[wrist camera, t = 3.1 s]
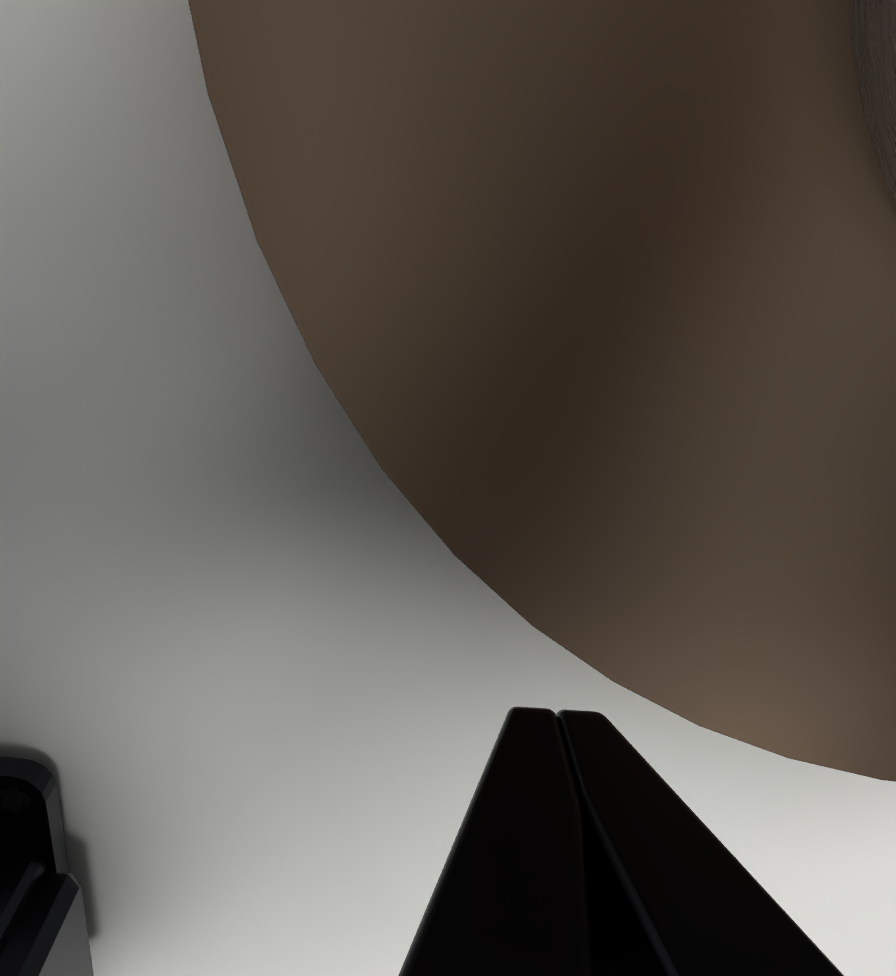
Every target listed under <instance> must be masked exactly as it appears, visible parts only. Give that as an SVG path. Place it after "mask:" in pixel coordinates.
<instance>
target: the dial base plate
mask: <svg viewBox="0 0 896 976" xmlns="http://www.w3.org/2000/svg"><path fill="white" fill-rule="evenodd" d="M188 1H189V6H190V11H191V15H192V20H193V25H194V30H195V34H196V39H197V44H198V49H199V53H200V58H201V63H202V68H203V72H204V77H205V82H206V87H207V91H208V95H209V98H210V101H211V104H212V107H213V110H214V113H215V116H216V119H217V122H218V125H219V128H220V131H221V134H222V137H223V140H224V143H225V146H226V149H227V152H228V155H229V158H230V161H231V164H232V167H233V170H234V173H235V176H236V179H237V182H238V185H239V188H240V191H241V194H242V197H243V200H244V203H245V206H246V209H247V212H248V215H249V218H250V221H251V224H252V227H253V230H254V233H255V236H256V239H257V242H258V244H259V246H260V248H261V250H262V253H263V255H264V257H265V259H266V261H267V263H268V265H269V267H270V269H271V272H272V274H273V276H274V278H275V280H276V282H277V284H278V286H279V288H280V291H281V293H282V295H283V297H284V299H285V301H286V303H287V305H288V307H289V310H290V312H291V314H292V316H293V318H294V320H295V322H296V324H297V326H298V329H299V331H300V333H301V335H302V337H303V339H304V341H305V343H306V345H307V348H308V350H309V352H310V354H311V356H312V358H313V360H314V362H315V364H316V366H317V368H318V369H319V371H320V372H321V374H322V376H323V377H324V379H325V380H326V382H327V383H328V385H329V387H330V388H331V390H332V391H333V393H334V394H335V396H336V397H337V399H338V401H339V402H340V404H341V405H342V407H343V408H344V410H345V412H346V413H347V415H348V416H349V418H350V419H351V421H352V423H353V424H354V426H355V427H356V429H357V430H358V432H359V433H360V435H361V437H362V438H363V440H364V441H365V443H366V444H367V446H368V448H369V449H370V451H371V452H372V454H373V455H374V457H375V459H376V460H377V462H378V463H379V465H380V466H381V468H382V469H383V471H384V472H385V473H386V474H387V475H388V476H389V478H390V479H391V480H392V481H393V482H394V484H395V485H396V486H397V487H398V488H399V490H400V491H401V492H402V493H403V494H404V496H405V497H406V498H407V499H408V500H409V501H410V503H411V504H412V505H413V506H414V507H415V509H416V510H417V511H418V512H419V513H420V515H421V516H422V517H423V518H424V519H425V520H426V522H427V523H428V524H429V525H430V526H431V528H432V529H433V530H434V531H435V532H436V534H437V535H438V536H439V537H440V538H441V539H442V541H443V542H444V543H445V544H446V545H447V547H448V548H449V549H450V550H451V551H452V553H453V554H454V555H455V556H456V557H457V558H458V559H460V560H461V561H462V562H463V563H464V564H465V565H466V566H467V567H468V568H469V569H471V570H472V571H473V572H474V573H475V574H476V575H477V576H478V577H479V578H480V579H482V580H483V581H484V582H485V583H486V584H487V585H488V586H489V587H490V588H491V589H493V590H494V591H495V592H496V593H497V594H498V595H499V596H500V597H501V598H502V599H504V600H505V601H506V602H507V603H508V604H509V605H510V606H511V607H512V608H513V609H515V610H516V611H517V612H518V613H519V614H520V615H521V616H522V617H523V618H524V619H526V620H527V621H528V622H529V623H530V624H531V625H532V626H534V627H535V628H536V629H538V630H539V631H541V632H542V633H544V634H545V635H547V636H548V637H549V638H551V639H552V640H554V641H555V642H557V643H558V644H560V645H561V646H563V647H564V648H565V649H567V650H568V651H570V652H571V653H573V654H574V655H576V656H577V657H578V658H580V659H581V660H583V661H584V662H586V663H587V664H589V665H590V666H591V667H593V668H594V669H596V670H597V671H599V672H600V673H602V674H603V675H605V676H606V677H607V678H609V679H610V680H612V681H613V682H615V683H617V684H619V685H621V686H623V687H625V688H627V689H629V690H631V691H632V692H634V693H636V694H638V695H640V696H642V697H644V698H646V699H648V700H650V701H652V702H654V703H656V704H658V705H660V706H662V707H664V708H666V709H668V710H670V711H671V712H673V713H675V714H677V715H679V716H681V717H683V718H685V719H687V720H689V721H691V722H693V723H695V724H697V725H699V726H701V727H704V728H707V729H710V730H712V731H715V732H718V733H721V734H723V735H726V736H729V737H732V738H734V739H737V740H740V741H743V742H745V743H748V744H751V745H754V746H756V747H759V748H762V749H765V750H767V751H770V752H773V753H776V754H778V755H781V756H784V757H787V758H790V759H794V760H799V761H803V762H807V763H811V764H816V765H820V766H824V767H829V768H833V769H837V770H842V771H846V772H850V773H854V774H859V775H863V776H867V777H872V778H876V779H880V780H888V781H896V203H895V201H894V199H893V197H892V195H891V193H890V191H889V189H888V187H887V185H886V183H885V181H884V179H883V176H882V173H881V169H880V166H879V163H878V160H877V157H876V154H875V150H874V147H873V144H872V141H871V138H870V135H869V131H868V128H867V125H866V122H865V119H864V116H863V111H862V105H861V99H860V93H859V87H858V81H857V75H856V69H855V64H854V58H853V52H852V46H851V32H850V9H849V0H188Z"/></svg>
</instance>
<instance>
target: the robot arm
mask: <svg viewBox="0 0 896 976" xmlns="http://www.w3.org/2000/svg"><path fill="white" fill-rule="evenodd" d="M15 789H17V790H21V791H22V792H23V793H21V792H18V791H17V790H15ZM0 976H94V975H93V968H92V961H91V954H90V947H89V939H88V932H87V925H86V918H85V911H84V903H83V896H82V889H81V887H80V885H79V884H78V882H77V881H76V879H75V877H74V876H73V874H70V873H69V866H68V859H67V852H66V845H65V839H64V832H63V825H62V818H61V811H60V804H59V797H58V790H57V784H56V781H55V779H54V776H53V774H52V773H51V772H50V771H49V770H48V769H47V768H46V767H45V766H43V765H41V764H39V763H37V762H35V761H33V760H29V759H24V758H14V757H0ZM399 976H844V975H843V974H842V973H841V972H840V971H839V970H838V969H837V968H836V967H835V965H834V964H833V963H832V962H831V961H830V960H829V959H828V958H827V957H826V956H825V955H824V954H823V952H822V951H821V950H820V949H819V948H818V947H817V946H816V945H815V944H814V943H813V942H812V940H811V939H810V938H809V937H808V936H807V935H806V934H805V933H804V932H803V931H802V930H801V929H800V927H799V926H798V925H797V924H796V923H795V922H794V921H793V920H792V919H791V918H790V917H789V916H788V914H787V913H786V912H785V911H784V910H783V909H782V908H781V907H780V906H779V905H778V904H777V902H776V901H775V900H774V899H773V898H772V897H771V896H770V895H769V894H768V893H767V892H766V891H765V889H764V888H763V887H762V886H761V885H760V884H759V883H758V882H757V881H756V880H755V879H754V878H753V876H752V875H751V874H750V873H749V872H748V871H747V870H746V869H745V868H744V867H743V866H742V864H741V863H740V862H739V861H738V860H737V859H736V858H735V857H734V856H733V855H732V854H731V853H730V851H729V850H728V849H727V848H726V847H725V846H724V845H723V844H722V843H721V842H720V841H719V840H718V838H717V837H716V836H715V835H714V834H713V833H712V832H711V831H710V830H709V829H708V828H707V826H706V825H705V824H704V823H703V822H702V821H701V820H700V819H699V818H698V817H697V816H696V815H695V813H694V812H693V811H692V810H691V809H690V808H689V807H688V806H687V805H686V804H685V803H684V802H683V800H682V799H681V798H680V797H679V796H678V795H677V794H676V793H675V792H674V791H673V790H672V788H671V787H670V786H669V785H668V784H667V783H666V782H665V781H664V780H663V779H662V778H661V777H660V775H659V774H658V773H657V772H656V771H655V770H654V769H653V768H652V767H651V766H650V765H649V764H648V762H647V761H646V760H645V759H644V758H643V757H642V756H641V755H640V754H639V753H638V752H637V750H636V749H635V748H634V747H633V746H632V745H631V744H630V743H629V742H628V741H627V740H626V739H625V737H624V736H623V735H622V734H621V733H620V732H619V731H618V730H617V729H616V728H615V727H614V726H613V724H612V723H611V722H610V721H609V720H608V719H607V718H606V717H605V716H604V715H602V714H601V713H598V712H592V711H577V710H561V711H559V712H558V713H557V714H556V715H555V713H554V712H553V711H552V710H550V709H546V708H531V707H513V708H511V709H510V710H509V712H508V714H507V716H506V718H505V721H504V723H503V726H502V728H501V730H500V733H499V735H498V738H497V740H496V742H495V745H494V747H493V750H492V752H491V754H490V757H489V759H488V762H487V764H486V766H485V769H484V771H483V774H482V776H481V779H480V781H479V783H478V786H477V788H476V791H475V793H474V795H473V798H472V800H471V803H470V805H469V807H468V810H467V812H466V815H465V817H464V819H463V822H462V824H461V827H460V829H459V831H458V834H457V836H456V839H455V841H454V843H453V846H452V848H451V851H450V853H449V855H448V858H447V860H446V863H445V865H444V868H443V870H442V872H441V875H440V877H439V880H438V882H437V884H436V887H435V889H434V892H433V894H432V896H431V899H430V901H429V904H428V906H427V908H426V911H425V913H424V916H423V918H422V920H421V923H420V925H419V928H418V930H417V932H416V935H415V937H414V940H413V942H412V944H411V947H410V949H409V952H408V954H407V956H406V959H405V961H404V964H403V966H402V968H401V971H400V973H399Z"/></svg>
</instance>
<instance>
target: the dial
mask: <svg viewBox="0 0 896 976" xmlns="http://www.w3.org/2000/svg"><path fill="white" fill-rule="evenodd" d="M849 9H850V32H851V46H852V52H853V58H854V64H855V69H856V75H857V81H858V87H859V93H860V99H861V105H862V111H863V116H864V119H865V122H866V125H867V128H868V131H869V135H870V138H871V141H872V144H873V147H874V150H875V154H876V157H877V160H878V163H879V166H880V169H881V173H882V176H883V179H884V181H885V183H886V185H887V187H888V189H889V191H890V193H891V195H892V197H893V199H894V201H895V203H896V0H849Z"/></svg>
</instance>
